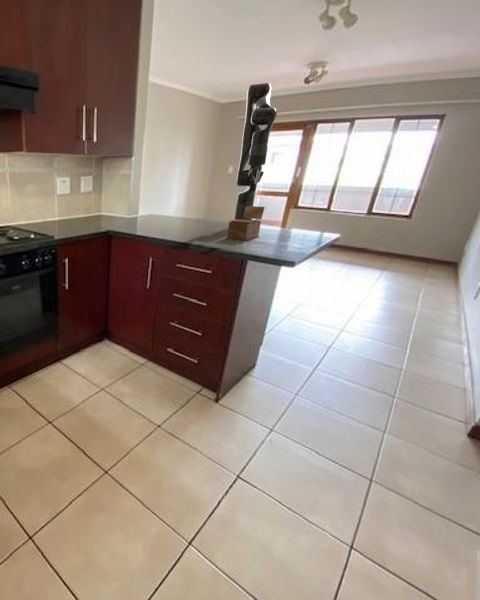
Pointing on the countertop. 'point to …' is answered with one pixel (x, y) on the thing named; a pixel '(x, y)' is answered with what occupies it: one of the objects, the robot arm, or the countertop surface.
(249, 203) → the robot arm
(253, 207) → the flap
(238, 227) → the carton
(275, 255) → the countertop surface
